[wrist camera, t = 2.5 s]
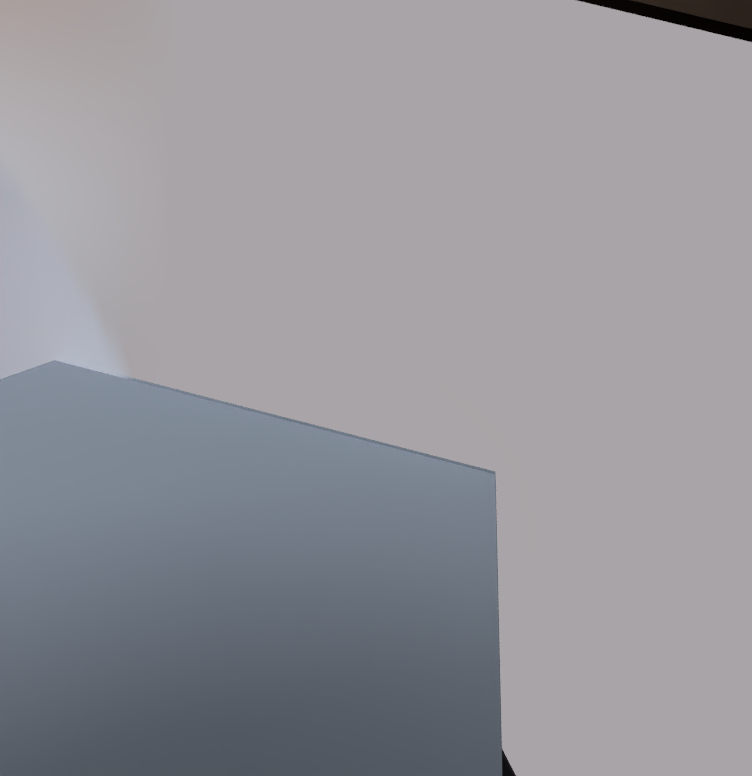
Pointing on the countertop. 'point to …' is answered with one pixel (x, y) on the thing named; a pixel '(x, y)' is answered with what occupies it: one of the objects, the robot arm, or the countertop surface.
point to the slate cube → (236, 592)
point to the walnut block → (693, 14)
